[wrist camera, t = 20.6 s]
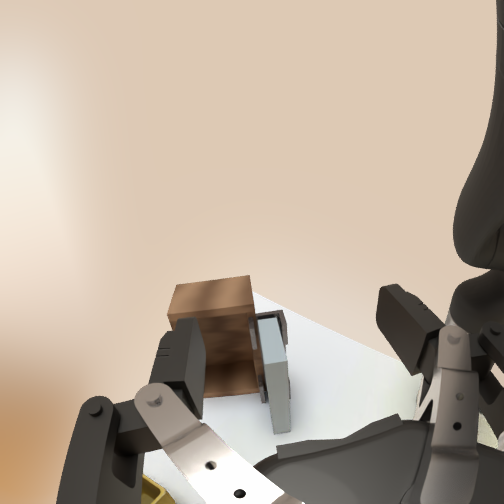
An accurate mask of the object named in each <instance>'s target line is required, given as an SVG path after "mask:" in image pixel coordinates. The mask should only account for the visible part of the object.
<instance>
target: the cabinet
mask: <svg viewBox="0 0 504 504" xmlns="http://www.w3.org/2000/svg"><path fill="white" fill-rule="evenodd" d="M167 316H168V319H169V322H170V324H171V327H172V330H173V331H175V327H176V323H177V319H178V318H187V317H196V318H197V321H198V324H199V328H200V331H201V335H202V338H203V342H204V345H205V351H206V365H205V380H204V396H203V398H209V397H222V396H232V395H242V394H250V393H258V392H260V390H259V383H258V375H261V376H262V382H263V389H264V392H265V391H266V386H265V379H264V372H263V365H262V357H261V350H260V343H259V336H258V329H257V322H256V315H255V307H254V301H253V294H252V288H251V282H250V276H249V275H247V276H240V277H233V278H225V279H218V280H210V281H203V282H195V283H187V284H179V285H176V288H175V291H174V294H173V297H172V300H171V303H170V306H169V310H168V313H167ZM248 317H253V322H254V329H255V336H256V343H257V349H254V350H253V348H252V342H251V335H250V329H249V321H248ZM255 352H256V354H254V353H255ZM255 355H256V356H255ZM259 372H260V373H259ZM264 386H265V387H264Z"/></svg>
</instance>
